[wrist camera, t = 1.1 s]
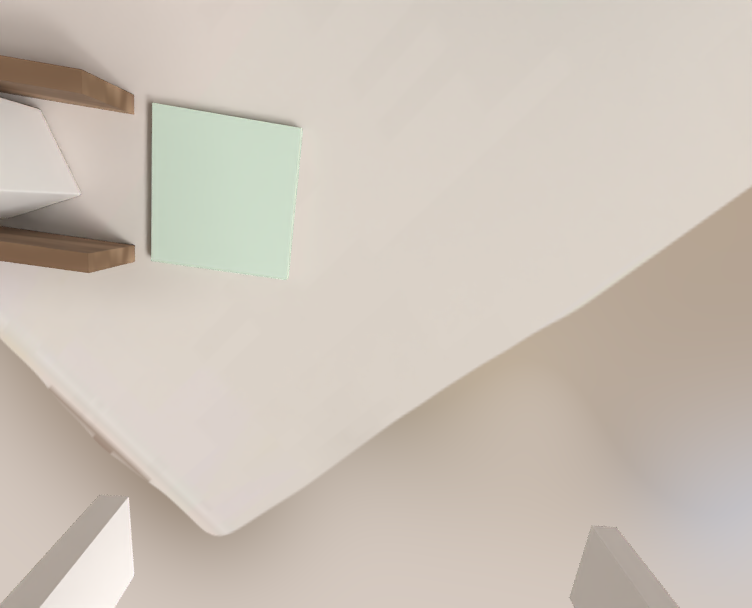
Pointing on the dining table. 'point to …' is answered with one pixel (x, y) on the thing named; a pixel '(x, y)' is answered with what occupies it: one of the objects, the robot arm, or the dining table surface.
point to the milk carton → (30, 162)
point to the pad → (223, 191)
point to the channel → (77, 91)
